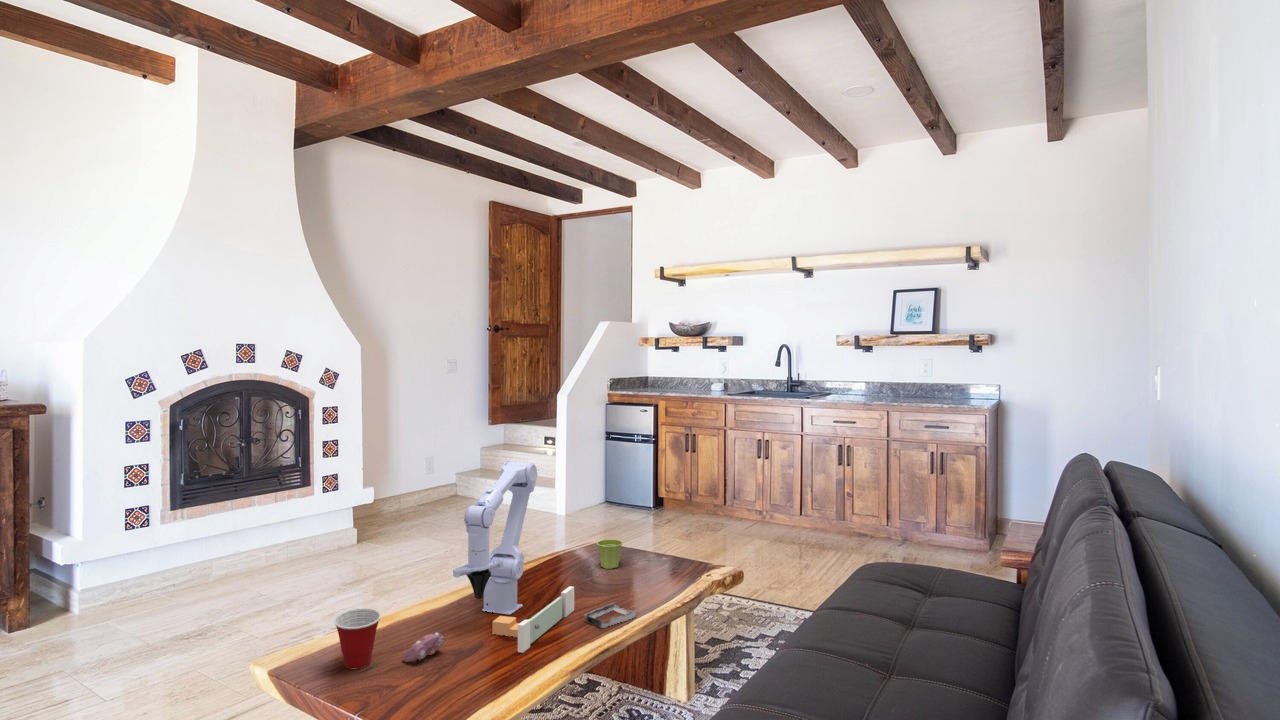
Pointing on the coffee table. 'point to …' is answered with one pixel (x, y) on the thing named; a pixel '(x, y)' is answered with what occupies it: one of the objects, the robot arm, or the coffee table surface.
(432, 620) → the coffee table surface
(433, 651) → the pink elongated piece
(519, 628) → the door frame
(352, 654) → the plastic cup
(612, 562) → the plant pot
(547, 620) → the door
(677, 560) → the coffee table surface
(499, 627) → the stepped wooden block
